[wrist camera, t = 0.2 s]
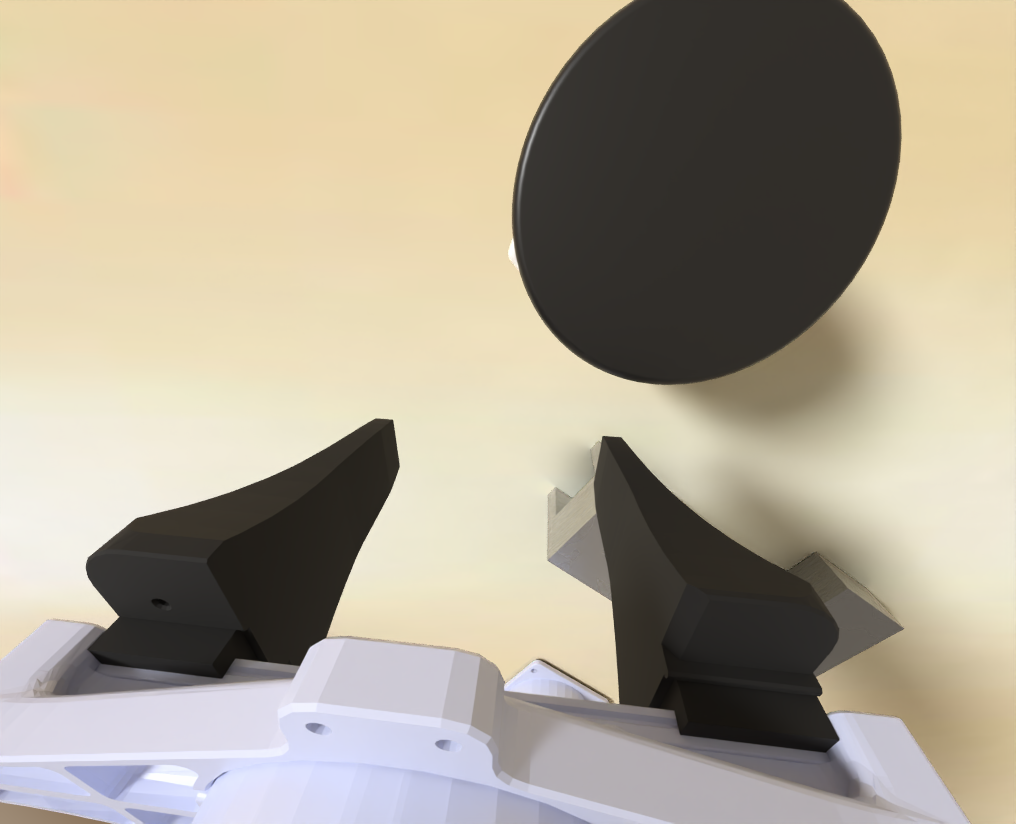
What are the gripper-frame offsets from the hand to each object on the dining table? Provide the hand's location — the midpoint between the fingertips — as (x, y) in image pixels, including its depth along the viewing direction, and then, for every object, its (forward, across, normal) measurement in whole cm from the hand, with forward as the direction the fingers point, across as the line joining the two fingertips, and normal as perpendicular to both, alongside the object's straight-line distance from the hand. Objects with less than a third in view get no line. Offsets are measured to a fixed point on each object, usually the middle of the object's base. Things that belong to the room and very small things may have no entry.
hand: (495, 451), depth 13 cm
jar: (+11, -5, -6) cm, 14 cm away
